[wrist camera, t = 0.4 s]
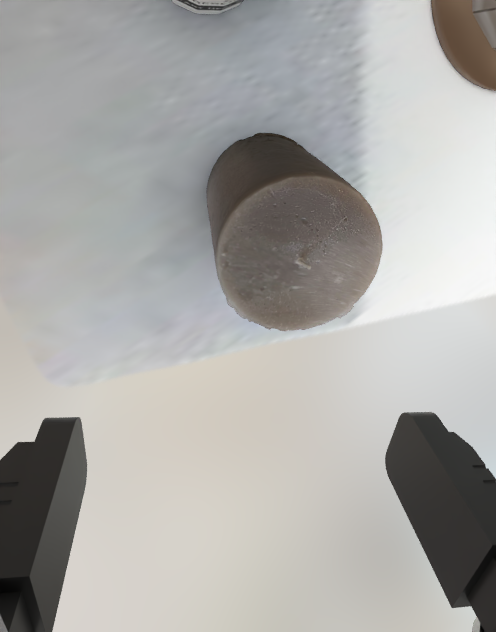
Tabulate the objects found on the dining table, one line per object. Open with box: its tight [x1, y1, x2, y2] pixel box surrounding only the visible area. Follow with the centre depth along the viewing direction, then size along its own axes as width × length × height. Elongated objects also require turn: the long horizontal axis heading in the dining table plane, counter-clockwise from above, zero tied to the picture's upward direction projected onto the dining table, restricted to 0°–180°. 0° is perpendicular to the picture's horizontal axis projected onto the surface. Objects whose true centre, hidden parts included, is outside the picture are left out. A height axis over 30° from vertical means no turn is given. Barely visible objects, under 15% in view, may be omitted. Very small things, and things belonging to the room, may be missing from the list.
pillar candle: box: [207, 133, 382, 331], centre depth 30 cm, size 10×10×15 cm
